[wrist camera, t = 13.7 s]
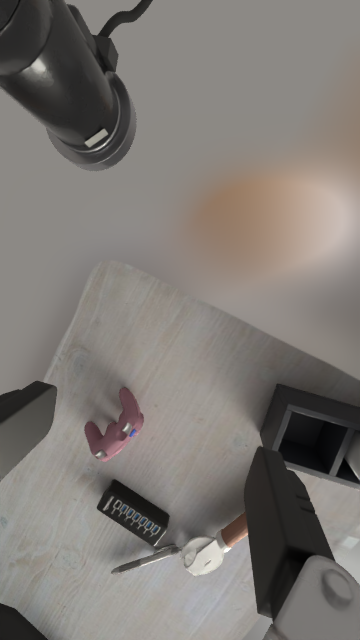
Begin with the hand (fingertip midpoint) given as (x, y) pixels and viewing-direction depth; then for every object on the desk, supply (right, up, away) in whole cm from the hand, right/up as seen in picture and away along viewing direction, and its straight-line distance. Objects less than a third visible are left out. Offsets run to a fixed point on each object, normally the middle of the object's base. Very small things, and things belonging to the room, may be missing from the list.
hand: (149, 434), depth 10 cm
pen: (-5, -36, +35) cm, 50 cm away
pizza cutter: (+9, -27, +32) cm, 43 cm away
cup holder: (+21, -10, +27) cm, 36 cm away
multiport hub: (-6, -26, +34) cm, 43 cm away
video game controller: (-8, -11, +31) cm, 34 cm away
